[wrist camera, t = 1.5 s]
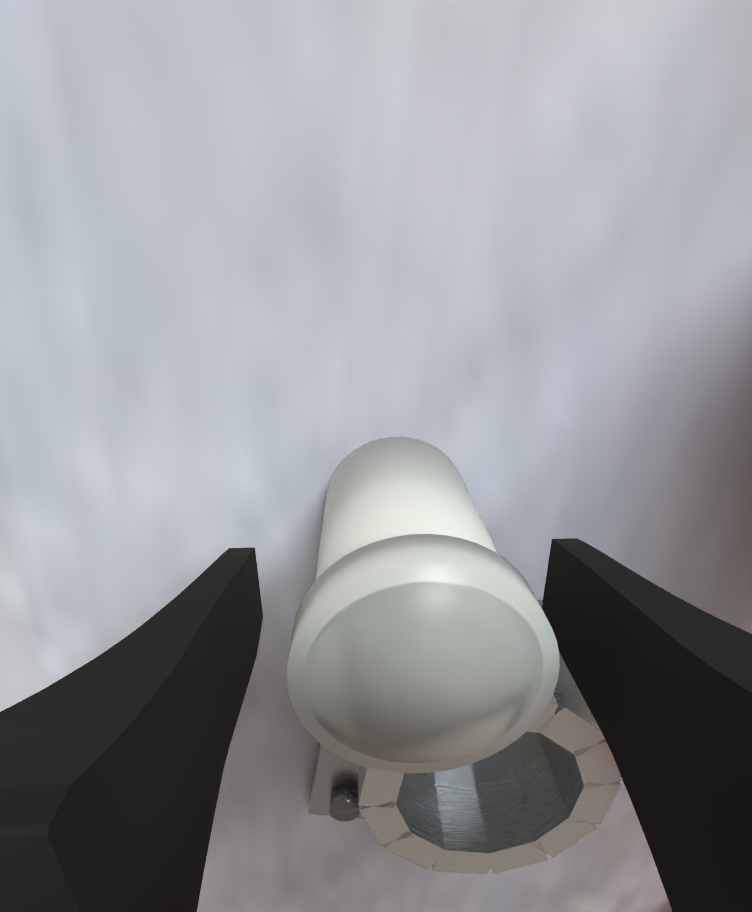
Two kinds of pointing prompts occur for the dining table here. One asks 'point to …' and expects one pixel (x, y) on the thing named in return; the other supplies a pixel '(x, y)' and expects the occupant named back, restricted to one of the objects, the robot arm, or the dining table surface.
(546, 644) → the white knob
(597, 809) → the flange
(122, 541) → the dining table surface
